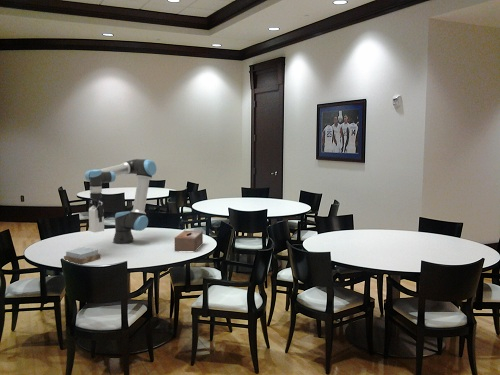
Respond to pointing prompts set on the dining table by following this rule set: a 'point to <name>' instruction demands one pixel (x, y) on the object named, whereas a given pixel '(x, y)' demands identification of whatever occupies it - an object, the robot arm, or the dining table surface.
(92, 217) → the milk carton
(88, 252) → the top slab
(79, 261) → the bottom slab
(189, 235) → the tissue box cover
